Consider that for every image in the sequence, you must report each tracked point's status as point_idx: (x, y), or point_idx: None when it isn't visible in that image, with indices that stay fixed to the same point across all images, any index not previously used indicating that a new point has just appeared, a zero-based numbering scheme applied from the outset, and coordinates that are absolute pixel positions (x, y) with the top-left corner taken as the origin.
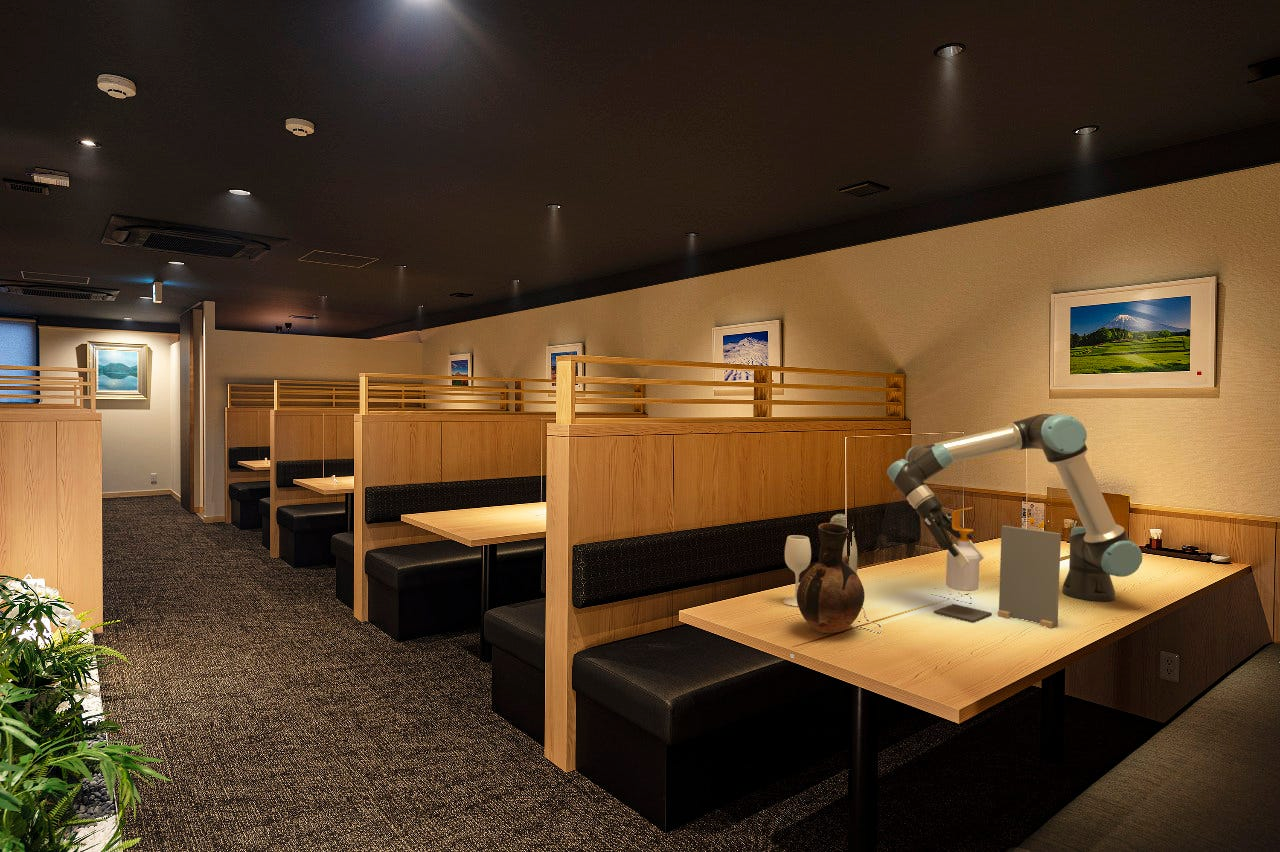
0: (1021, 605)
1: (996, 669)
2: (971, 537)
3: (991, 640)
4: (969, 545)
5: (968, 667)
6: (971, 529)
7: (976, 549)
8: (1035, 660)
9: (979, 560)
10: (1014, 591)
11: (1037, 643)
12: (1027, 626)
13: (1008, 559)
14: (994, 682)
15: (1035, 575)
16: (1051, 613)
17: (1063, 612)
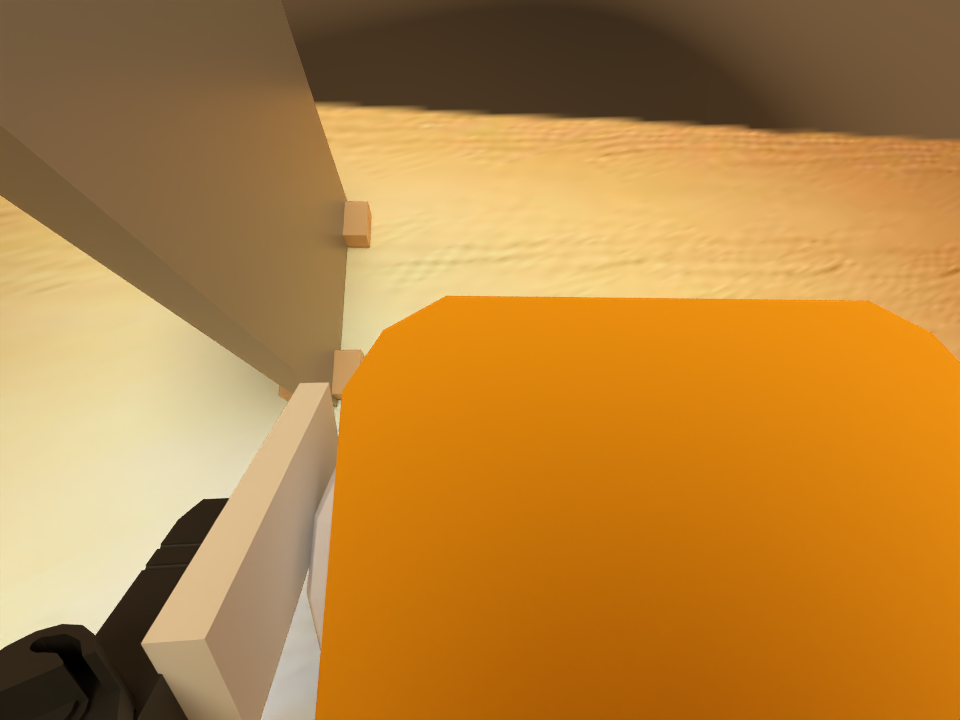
0: (326, 290)
1: (866, 180)
2: (49, 656)
3: (674, 281)
4: (259, 597)
5: (926, 226)
6: (417, 419)
7: (290, 463)
8: (715, 147)
9: (337, 434)
10: (303, 293)
11: (572, 189)
12: (413, 271)
13: (198, 209)
14: (937, 153)
15: (272, 109)
16: (336, 186)
17: (85, 257)
